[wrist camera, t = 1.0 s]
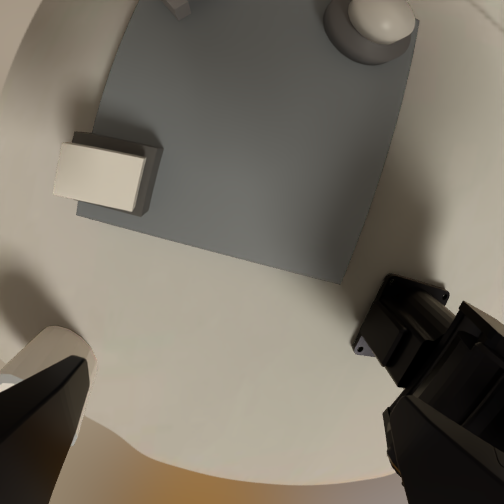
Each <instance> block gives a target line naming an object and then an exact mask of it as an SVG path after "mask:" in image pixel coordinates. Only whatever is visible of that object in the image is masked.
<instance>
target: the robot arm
mask: <svg viewBox="0 0 504 504" xmlns="http://www.w3.org/2000/svg"><path fill="white" fill-rule="evenodd" d="M392 279H393V282H392V283H390V281H391V280H392ZM443 295H444V296H443ZM448 299H449V292H448V291H447V290H445V289H443V288H440V287H436V286H433V285H430V284H426V283H423V282H420V281H416V280H413V279H410V278H406V277H403V276H400V275H396V274H392V273H391V274H388V275H387V276H386V277H385V279H384V282H383V284H382V286H381V288H380V291H379V293H378V295H377V297H376V299H375V301H374V302H373V304H372V307H371V309H370V311H369V313H368V315H367V317H366V319H365V321H364V323H363V325H362V327H361V329H360V333H359V335H358V337H357V339H356V341H355V343H354V345H353V347H352V348H353V351H354V353H355V354H357V355H364V356H371V357H376V358H377V359H378V361H379V363H380V364H381V366H383V367H385V368H386V370H387V371H388V373H389V374H390V376H391V378H392V379H393V381H394V382H395V384H396V385H397V387H401V388H403V389H404V390H403V392H402V393H401V394H400V395H399V396H398V398H397V399H396V400H395V401H394V403H393V404H392V405H391V406H390V407H388V408H387V409H386V410H385V411H384V412H383V420H384V427H385V434H386V441H387V456H388V458H389V460H390V463H391V466H392V467H393V469H394V470H395V471H396V473H397V474H398V475H399V476H400V477H401V478H402V485H403V486H404V488H405V492H406V496H407V500H408V504H504V325H503V324H502V323H501V322H499V321H498V320H497V319H495V318H493V317H492V316H490V315H488V314H486V313H485V312H483V311H481V310H479V309H478V308H476V307H474V306H472V305H471V304H469V303H467V302H465V301H463V302H462V303H461V305H460V307H459V309H460V310H459V311H458V313H457V315H456V316H455V315H454V314H453V313H452V312H451V311H450V310H448V309H447V308H446V307H445V305H446V303H447V301H448ZM359 347H361V348H359ZM358 348H359V349H358ZM89 386H90V379H89V371H88V363H87V360H86V359H85V358H83V357H79V356H76V355H71V356H69V357H67V358H65V359H63V360H61V361H59V362H57V363H55V364H53V365H51V366H50V367H48V368H46V369H44V370H42V371H40V372H38V373H36V374H34V375H32V376H31V377H29V378H27V379H25V380H23V381H21V382H19V383H17V384H15V385H13V386H11V387H9V388H8V389H6V390H4V391H2V392H0V504H49V501H50V498H51V495H52V492H53V490H54V487H55V484H56V481H57V479H58V476H59V474H60V471H61V468H62V466H63V463H64V461H65V458H66V456H67V453H68V451H69V448H70V446H71V444H72V441H73V439H74V436H75V433H76V430H77V427H78V423H79V420H80V416H81V413H82V410H83V406H84V403H85V400H86V397H87V393H88V390H89Z"/></svg>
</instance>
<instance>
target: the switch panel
mask: <svg viewBox="0 0 504 504" xmlns="http://www.w3.org/2000/svg"><path fill="white" fill-rule="evenodd" d="M351 1H352V0H139V2H138V4H137V6H136V8H135V10H134V13H133V15H132V17H131V19H130V22H129V24H128V26H127V29H126V31H125V33H124V36H123V38H122V41H121V43H120V46H119V48H118V51H117V54H116V56H115V59H114V62H113V65H112V68H111V70H110V73H109V76H108V79H107V82H106V85H105V89H104V92H103V95H102V98H101V102H100V105H99V108H98V112H97V116H96V119H95V123H94V127H93V131H92V133H88V132H74V136H73V140H72V143H76V144H82V145H87V146H93V147H98V148H103V149H108V150H113V151H118V152H123V153H128V154H133V155H137V156H142V157H147V158H146V162H145V166H144V170H143V174H142V178H141V182H140V187H139V191H138V196H137V200H136V205H135V208H134V209H133V211H132V212H131V211H126V210H122V209H117V208H112V207H108V206H103V205H99V204H94V203H89V202H85V201H80V200H77V201H78V206H77V213H76V215H78V216H81V217H85V218H89V219H92V220H96V221H100V222H103V223H107V224H111V225H114V226H118V227H122V228H125V229H129V230H133V231H137V232H140V233H144V234H148V235H151V236H155V237H159V238H163V239H166V240H170V241H174V242H178V243H182V244H185V245H189V246H193V247H197V248H200V249H204V250H208V251H212V252H216V253H220V254H223V255H227V256H231V257H235V258H239V259H243V260H246V261H250V262H254V263H258V264H262V265H266V266H270V267H273V268H277V269H281V270H285V271H289V272H293V273H297V274H301V275H305V276H309V277H312V278H316V279H320V280H324V281H328V282H332V283H336V284H341V282H342V279H343V277H344V275H345V272H346V270H347V267H348V265H349V262H350V260H351V257H352V255H353V252H354V249H355V247H356V244H357V242H358V239H359V236H360V234H361V231H362V228H363V225H364V223H365V220H366V217H367V214H368V211H369V209H370V206H371V203H372V200H373V197H374V194H375V191H376V188H377V185H378V182H379V179H380V176H381V173H382V170H383V167H384V163H385V160H386V157H387V154H388V150H389V147H390V144H391V140H392V137H393V133H394V130H395V126H396V123H397V119H398V115H399V111H400V108H401V104H402V100H403V96H404V92H405V88H406V84H407V79H408V75H409V71H410V66H411V62H412V57H413V52H414V47H415V42H416V37H417V31H418V26H419V20H418V19H416V18H415V27H414V29H413V31H412V33H411V34H409V35H408V36H406V37H404V38H402V39H400V40H398V41H396V42H395V43H392V44H389V45H381V44H377V43H374V42H372V41H370V40H368V39H366V38H365V37H363V36H362V35H361V34H360V33H359V32H358V31H357V30H356V29H355V28H354V26H353V25H352V23H351V21H350V18H349V14H348V8H349V4H350V2H351ZM70 199H71V198H70ZM73 200H75V199H73Z"/></svg>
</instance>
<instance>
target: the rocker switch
mask: <svg viewBox="0 0 504 504" xmlns="http://www.w3.org/2000/svg"><path fill="white" fill-rule="evenodd" d="M146 158H147V157H142V156H137V155H133V154H128V153H123V152H118V151H113V150H108V149H103V148H98V147H93V146H87V145H82V144H76V143H71V142H67V143H62V146H61V151H60V155H59V161H58V166H57V172H56V178H55V184H54V191H53V195H57V196H61V197H66V198H71V199H75V200H80V201H85V202H89V203H94V204H99V205H103V206H108V207H112V208H117V209H122V210H126V211H131V212H132V211H133V209H134V208H135V205H136V200H137V196H138V191H139V187H140V182H141V178H142V174H143V170H144V166H145V162H146Z"/></svg>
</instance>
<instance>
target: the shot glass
mask: <svg viewBox="0 0 504 504" xmlns="http://www.w3.org/2000/svg"><path fill="white" fill-rule="evenodd" d="M71 355H76V356H79V357H83V358H85V359H86V360H87V363H88V371H89V379H90V386H89V390H88V393H87V397H86V400H85V403H84V406H83V410H82V413H81V416H80V420H79V423H78V427H77V430H76V433H75V436H74V439H73V441H72V444H71V446H73V445H74V443H75V441H76V439H77V437H78V433H79V429H80V426H81V423H82V419H83V416H84V412H85V409H86V406H87V402H88V399H89V396H90V393H91V389H92V386H93V383H94V380H95V377H96V374H97V371H98V366H97V359H96V357H95V354H94V352H93V350H92V348H91V347H90V346H89V345H88V344H87V343H86V342H85V340H84V339H83V338H82V337H81V336H79V335H77V334H76V333H74V332H73V331H71V330H70V329H67V328H64V327H60V326H50V327H46V328H45V329H44V330H43V331H41V332H40V333H39V334H38V335H37V336H36V337H35V338H34V339H33V340H32V341H30V342H29V343H28V344H27V345H26V346H25V347H24V348H23V349H22V350H21V351H20V352H19V353H18V354H17V355H16V356H15V357H14V358H13V359H12V360H11V361H9V362H8V363H7V364H6V365H5V366H4V367H3V368H2V369H1V370H0V392H2V391H4V390H6V389H8V388H9V387H11V386H13V385H15V384H17V383H19V382H21V381H23V380H25V379H27V378H29V377H31V376H32V375H34V374H36V373H38V372H40V371H42V370H44V369H46V368H48V367H50V366H51V365H53V364H55V363H57V362H59V361H61V360H63V359H65V358H67V357H69V356H71Z"/></svg>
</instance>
